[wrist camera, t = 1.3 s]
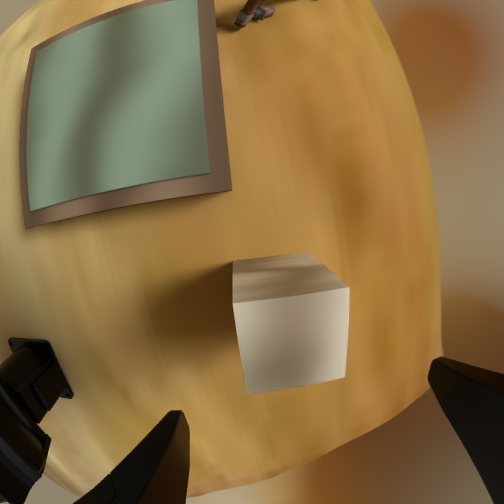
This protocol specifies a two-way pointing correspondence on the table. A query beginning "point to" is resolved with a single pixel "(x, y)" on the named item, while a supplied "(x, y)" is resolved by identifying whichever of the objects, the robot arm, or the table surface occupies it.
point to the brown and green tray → (124, 112)
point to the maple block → (289, 321)
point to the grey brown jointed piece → (254, 12)
